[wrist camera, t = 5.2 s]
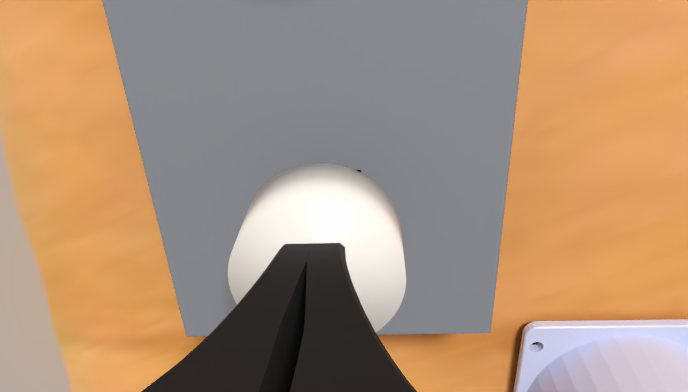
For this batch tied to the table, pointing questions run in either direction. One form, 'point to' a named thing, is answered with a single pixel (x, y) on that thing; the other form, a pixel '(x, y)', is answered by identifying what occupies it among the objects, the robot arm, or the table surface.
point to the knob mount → (328, 131)
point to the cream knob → (326, 232)
